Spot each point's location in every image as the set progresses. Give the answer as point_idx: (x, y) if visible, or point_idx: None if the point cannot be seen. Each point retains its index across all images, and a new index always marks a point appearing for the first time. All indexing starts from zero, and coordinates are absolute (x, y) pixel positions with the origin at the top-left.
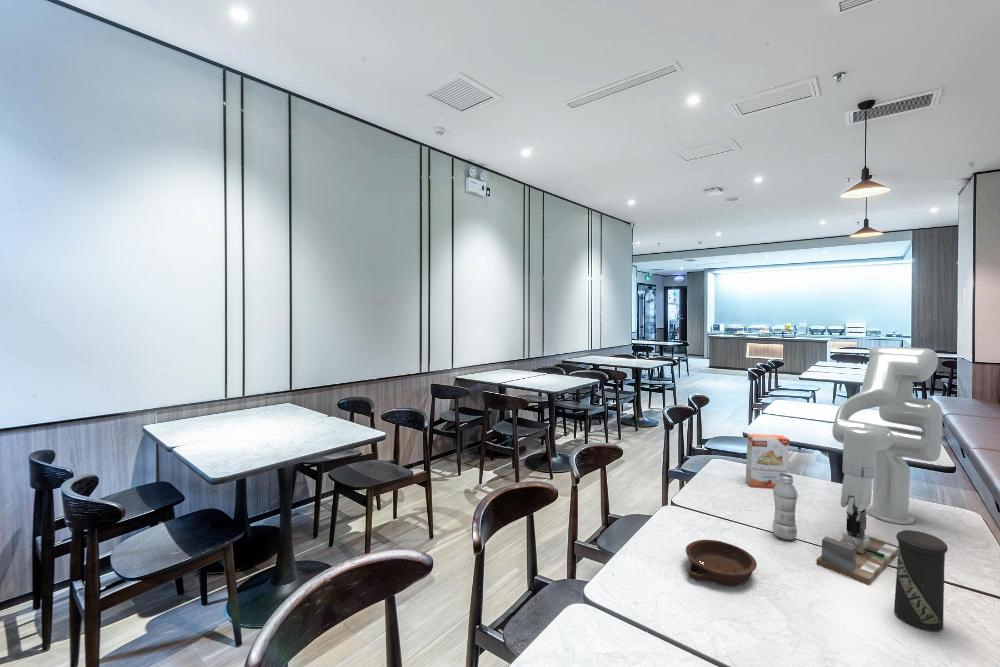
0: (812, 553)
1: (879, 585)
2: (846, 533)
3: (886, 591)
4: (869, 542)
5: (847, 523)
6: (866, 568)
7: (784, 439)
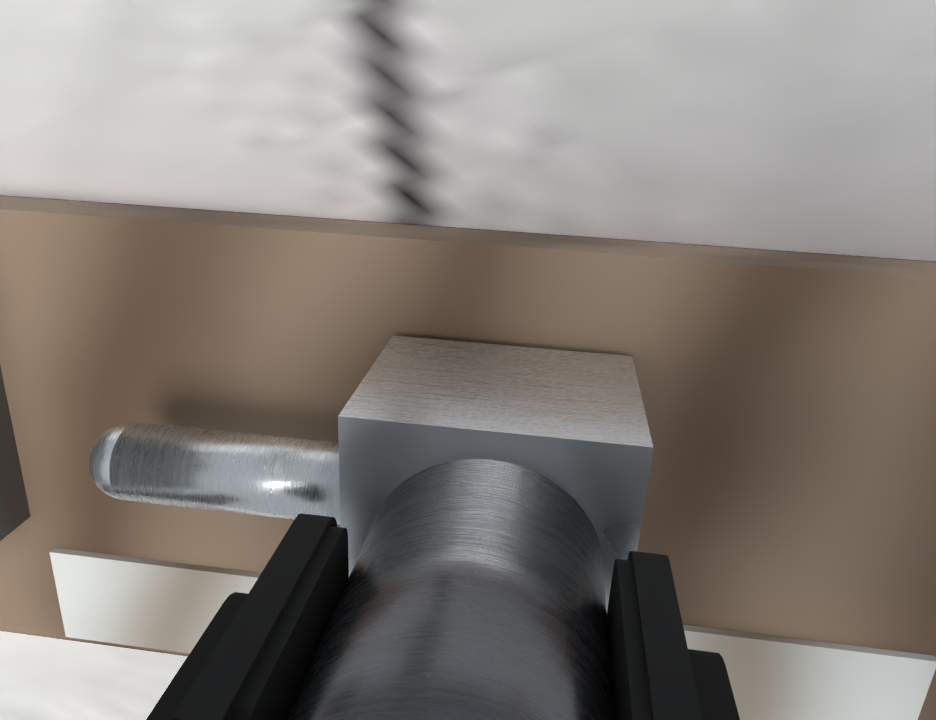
0: (81, 67)
1: (54, 638)
2: (387, 458)
3: (13, 677)
4: (857, 529)
5: (243, 618)
6: (102, 590)
7: None
